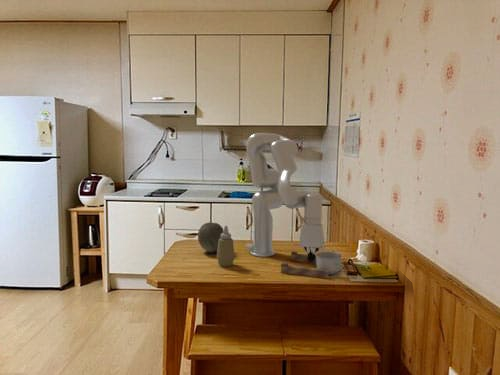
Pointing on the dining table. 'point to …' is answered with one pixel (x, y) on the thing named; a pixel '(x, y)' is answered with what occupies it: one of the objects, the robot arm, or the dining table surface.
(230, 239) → the squeeze bottle
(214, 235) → the cantaloupe
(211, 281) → the dining table surface
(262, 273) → the dining table surface
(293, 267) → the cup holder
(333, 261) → the teacup
